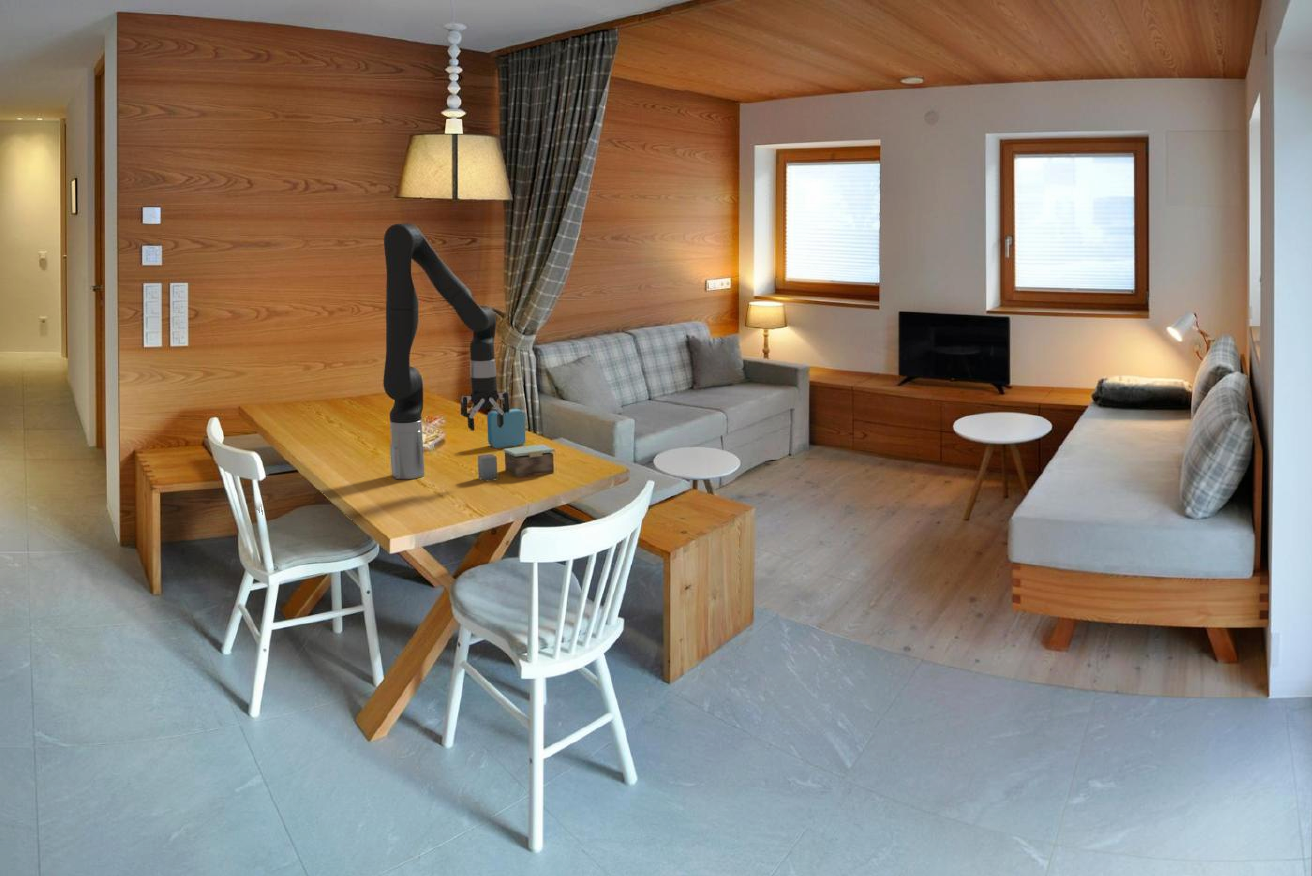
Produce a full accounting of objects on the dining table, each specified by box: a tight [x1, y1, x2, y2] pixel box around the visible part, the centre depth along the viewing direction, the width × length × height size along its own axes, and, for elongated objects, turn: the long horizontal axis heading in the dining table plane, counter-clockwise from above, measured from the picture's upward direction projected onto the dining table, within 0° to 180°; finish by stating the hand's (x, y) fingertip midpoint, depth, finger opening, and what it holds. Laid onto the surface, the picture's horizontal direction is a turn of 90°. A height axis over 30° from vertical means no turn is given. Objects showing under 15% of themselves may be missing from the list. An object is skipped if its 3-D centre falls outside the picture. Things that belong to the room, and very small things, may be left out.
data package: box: [486, 408, 527, 449], centre depth 357 cm, size 12×4×12 cm, turn 117°
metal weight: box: [477, 453, 498, 482], centre depth 314 cm, size 4×4×7 cm
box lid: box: [502, 443, 556, 457], centre depth 321 cm, size 13×11×2 cm
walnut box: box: [504, 452, 555, 479], centre depth 323 cm, size 12×10×6 cm
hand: (486, 428), depth 312 cm, fingers open, 8 cm apart
